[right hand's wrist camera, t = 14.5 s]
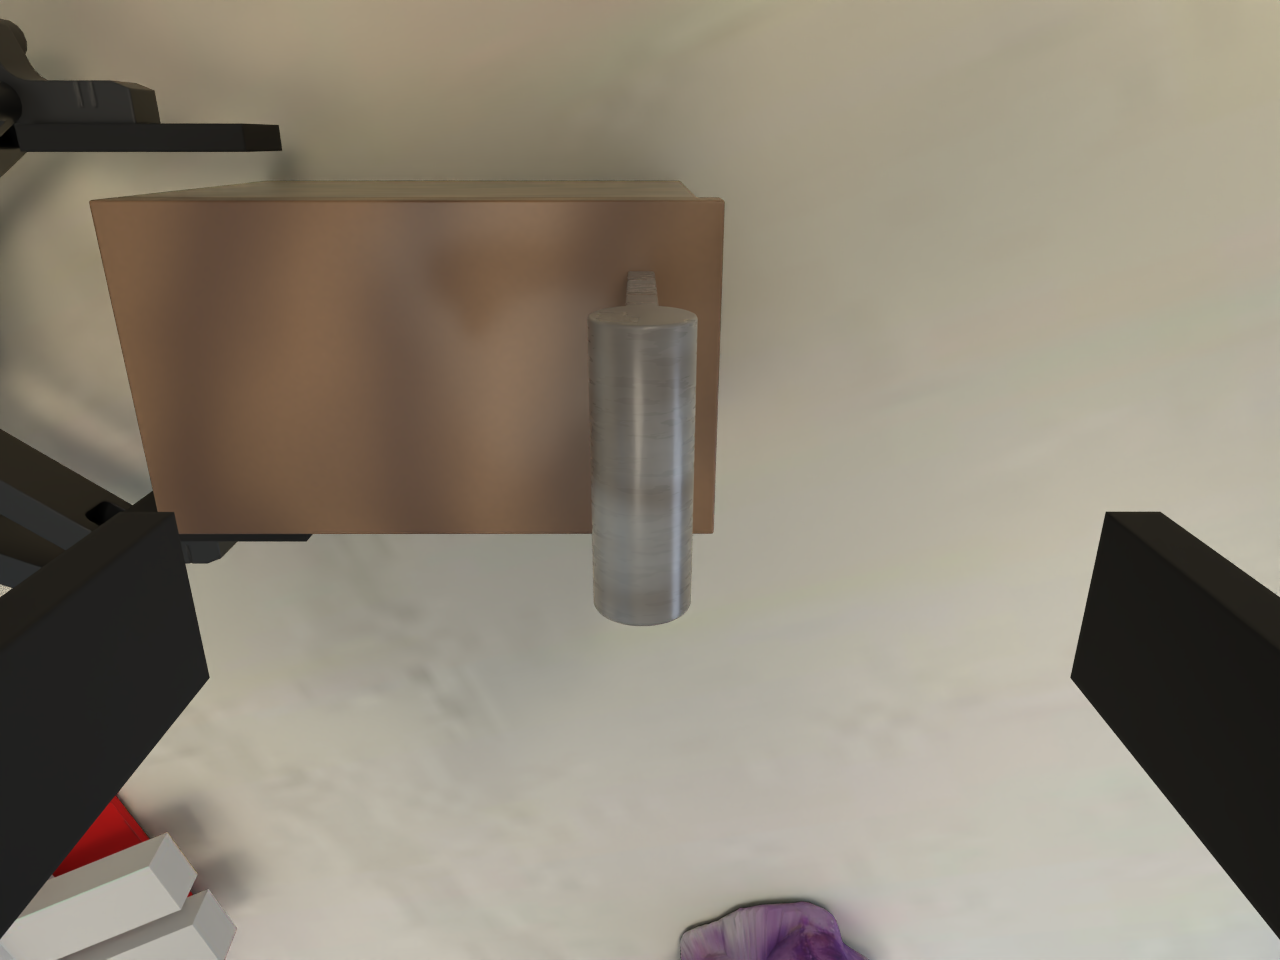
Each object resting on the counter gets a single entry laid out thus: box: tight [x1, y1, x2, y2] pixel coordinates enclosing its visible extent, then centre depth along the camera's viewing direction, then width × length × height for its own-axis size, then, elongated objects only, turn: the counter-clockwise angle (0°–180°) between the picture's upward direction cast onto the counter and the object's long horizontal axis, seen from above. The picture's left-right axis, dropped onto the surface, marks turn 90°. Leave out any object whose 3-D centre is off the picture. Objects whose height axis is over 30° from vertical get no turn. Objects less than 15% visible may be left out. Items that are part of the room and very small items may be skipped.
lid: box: [89, 197, 725, 626], centre depth 21 cm, size 16×9×9 cm, turn 90°
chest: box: [118, 181, 696, 198], centre depth 29 cm, size 16×9×10 cm, turn 90°
